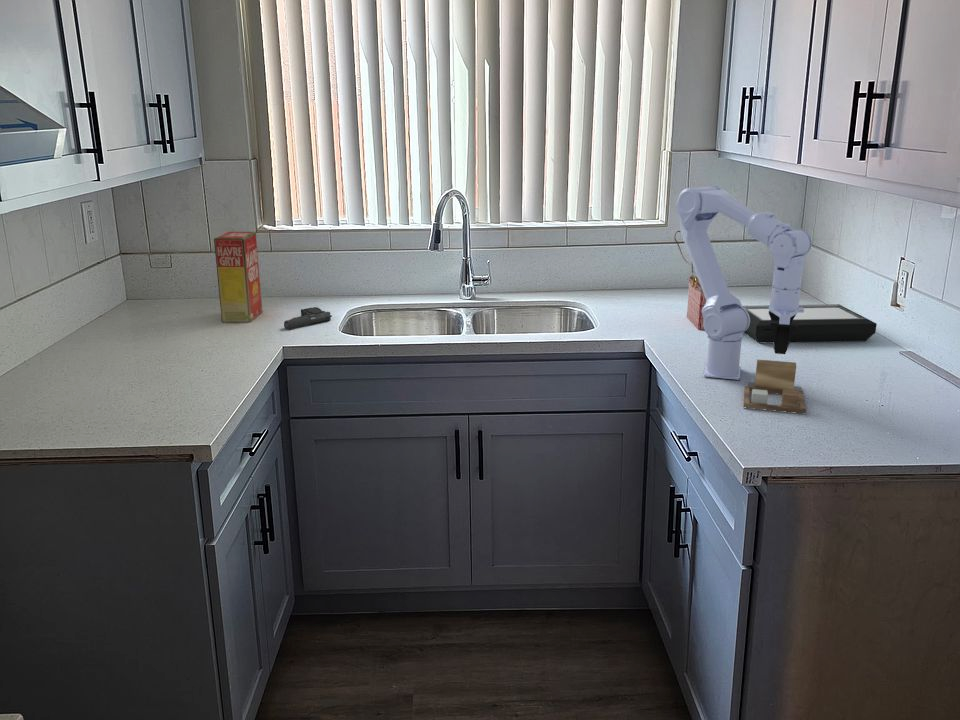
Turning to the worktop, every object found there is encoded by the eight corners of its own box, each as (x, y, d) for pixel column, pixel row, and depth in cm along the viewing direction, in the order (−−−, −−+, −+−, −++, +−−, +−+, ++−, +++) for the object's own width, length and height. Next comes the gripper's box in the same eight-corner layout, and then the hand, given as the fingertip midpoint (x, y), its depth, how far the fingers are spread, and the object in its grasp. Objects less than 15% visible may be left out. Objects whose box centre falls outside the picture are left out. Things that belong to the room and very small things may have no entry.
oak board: (754, 384, 180) (757, 359, 178) (792, 388, 178) (795, 362, 176) (754, 388, 178) (757, 362, 176) (793, 392, 175) (796, 365, 174)
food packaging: (251, 322, 237) (243, 237, 230) (220, 322, 237) (210, 238, 230) (264, 311, 250) (256, 231, 242) (234, 311, 250) (225, 231, 243)
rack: (744, 389, 178) (744, 385, 178) (802, 395, 175) (802, 390, 174) (743, 408, 167) (744, 403, 167) (805, 414, 164) (806, 409, 164)
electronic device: (842, 302, 230) (877, 320, 211) (839, 324, 232) (873, 343, 213) (731, 304, 229) (756, 322, 210) (729, 325, 231) (754, 345, 212)
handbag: (692, 312, 245) (698, 230, 237) (709, 331, 225) (717, 241, 217) (668, 312, 245) (673, 230, 237) (683, 331, 225) (690, 241, 217)
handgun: (267, 315, 236) (289, 321, 228) (315, 305, 247) (337, 311, 239) (268, 325, 237) (290, 331, 229) (316, 315, 248) (338, 320, 240)
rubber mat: (749, 383, 182) (749, 382, 182) (801, 388, 179) (801, 386, 179) (748, 390, 178) (749, 389, 177) (802, 395, 174) (802, 394, 174)
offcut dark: (781, 405, 169) (783, 389, 168) (796, 406, 168) (798, 390, 167) (781, 409, 167) (783, 394, 166) (797, 411, 166) (798, 395, 165)
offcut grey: (751, 402, 171) (752, 389, 170) (765, 403, 170) (767, 390, 169) (751, 407, 168) (752, 393, 167) (766, 408, 168) (767, 395, 167)
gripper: (808, 295, 163) (801, 359, 167) (804, 281, 176) (797, 340, 180) (771, 293, 165) (765, 356, 169) (770, 279, 178) (764, 338, 182)
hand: (779, 348), depth 175 cm, fingers open, 7 cm apart
